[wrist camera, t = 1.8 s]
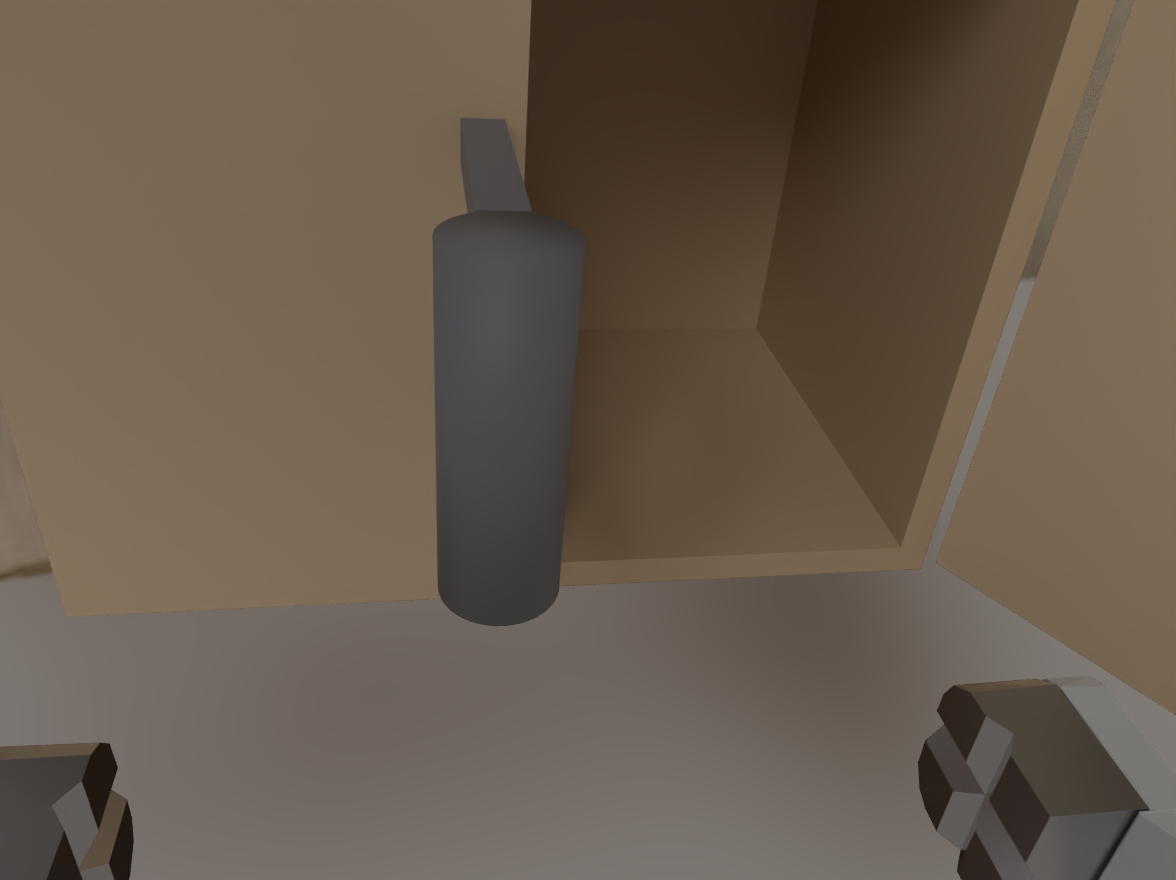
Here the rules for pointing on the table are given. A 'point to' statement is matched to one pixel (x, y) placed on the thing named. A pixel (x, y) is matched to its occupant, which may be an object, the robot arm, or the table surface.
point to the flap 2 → (1094, 397)
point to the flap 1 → (283, 304)
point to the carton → (788, 262)
